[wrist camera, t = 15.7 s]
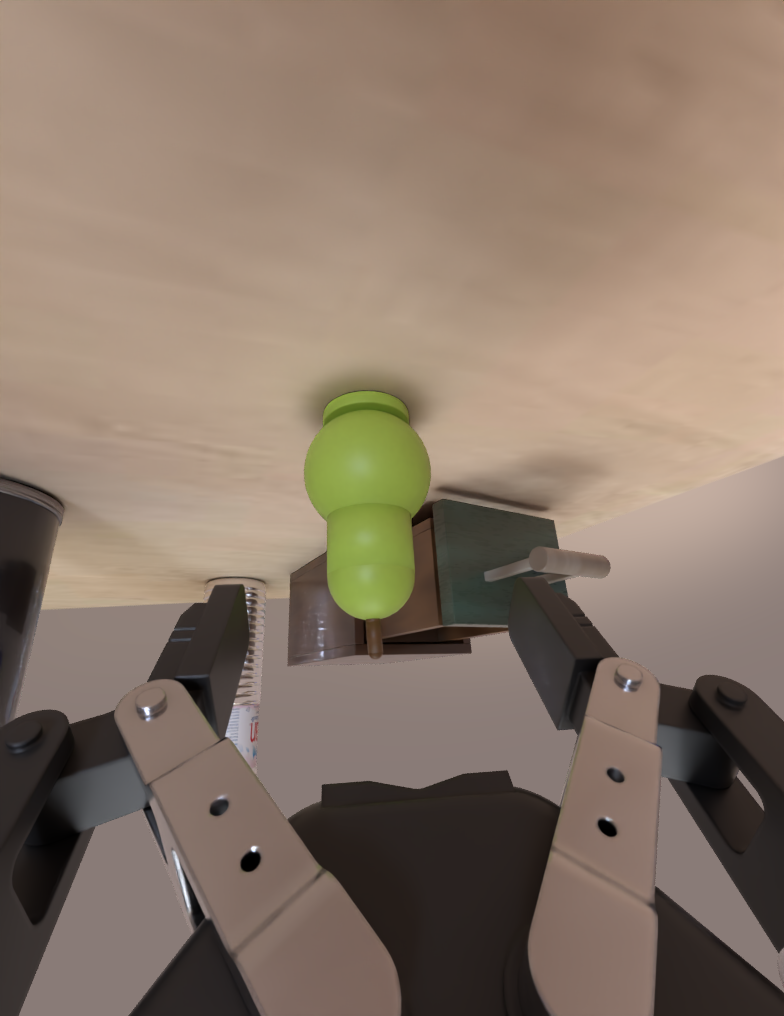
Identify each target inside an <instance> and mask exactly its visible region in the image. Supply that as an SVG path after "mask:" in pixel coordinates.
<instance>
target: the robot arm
mask: <svg viewBox="0 0 784 1016" xmlns="http://www.w3.org/2000/svg"><path fill="white" fill-rule="evenodd" d="M63 515H64V509H63V507H62V506H61V505H60V504H59V503H58V502H57V501H56V500H54V499H53V498H51V497H50V496H48V495H46V494H44V493H42V492H40V491H37V490H35V489H32V488H30V487H27V486H24V485H21V484H18V483H15V482H12V481H9V480H5V479H2V478H0V1016H19V1013H20V1011H21V1008H22V1006H23V1003H24V1001H25V998H26V996H27V993H28V991H29V988H30V986H31V984H32V981H33V979H34V976H35V974H36V971H37V969H38V966H39V964H40V961H41V959H42V957H43V954H44V952H45V949H46V947H47V944H48V942H49V939H50V936H51V934H52V932H53V929H54V927H55V925H56V922H57V920H58V917H59V915H60V912H61V910H62V907H63V905H64V902H65V900H66V897H67V895H68V893H69V890H70V888H71V885H72V883H73V880H74V878H75V875H76V873H77V870H78V868H79V866H80V863H81V861H82V858H83V856H84V853H85V851H86V848H87V846H88V843H89V841H90V839H91V836H92V834H93V831H94V829H95V826H98V825H101V824H103V823H106V822H108V821H111V820H114V819H117V818H119V817H122V816H124V815H127V814H130V813H133V812H135V811H138V810H141V811H142V813H143V816H144V818H145V821H146V823H147V825H148V827H149V830H150V832H151V834H152V837H153V839H154V841H155V844H156V846H157V848H158V851H159V853H160V855H161V858H162V860H163V862H164V865H165V867H166V869H167V872H168V874H169V876H170V879H171V881H172V884H173V887H174V889H175V893H176V896H177V898H178V901H179V904H180V907H181V909H182V912H183V914H184V917H185V920H186V922H187V924H188V927H189V929H190V931H191V933H192V935H191V936H190V938H189V939H188V940H187V941H186V943H185V944H184V945H183V947H182V948H181V949H180V950H179V952H178V953H177V954H176V956H175V957H174V958H173V959H172V961H171V962H170V963H169V964H168V966H167V967H166V968H165V970H164V971H163V972H162V973H161V975H160V976H159V977H158V979H157V980H156V981H155V982H154V984H153V985H152V986H151V988H150V989H149V990H148V992H147V993H146V994H145V995H144V996H143V998H142V999H141V1000H140V1002H139V1003H138V1005H136V1007H135V1008H134V1009H133V1011H132V1012H131V1013H130V1014H129V1016H784V993H783V992H782V991H781V990H780V989H779V988H778V987H777V986H775V985H774V984H773V983H772V982H771V981H769V980H768V979H767V978H766V977H764V976H763V975H762V974H761V973H760V972H759V971H757V970H756V969H755V968H754V967H753V966H751V965H750V964H749V963H748V962H746V961H745V960H744V959H743V958H742V957H740V956H739V955H738V954H737V953H736V952H734V951H733V950H732V949H731V948H730V947H728V946H727V945H726V944H725V943H724V942H722V941H721V940H720V939H719V938H717V937H716V936H715V935H714V934H713V933H712V932H710V931H709V930H708V929H707V928H706V927H704V926H703V925H702V924H701V923H700V922H698V921H697V920H696V919H695V918H693V917H692V916H691V915H690V914H689V913H688V912H686V911H685V910H684V909H683V908H682V907H680V906H679V905H678V904H677V903H676V902H674V901H673V900H672V899H671V898H669V897H668V896H667V895H666V894H664V892H662V891H661V890H660V889H659V888H657V887H656V886H655V877H656V859H657V842H658V825H659V824H658V823H659V807H660V790H661V777H666V778H668V779H669V781H670V783H671V784H672V786H673V787H674V789H675V791H676V792H677V794H678V795H679V797H680V798H681V800H682V802H683V803H684V805H685V806H686V808H687V809H688V811H689V813H690V814H691V816H692V817H693V819H694V820H695V822H696V824H697V825H698V827H699V828H700V830H701V832H702V833H703V835H704V836H705V838H706V840H707V841H708V843H709V844H710V846H711V847H712V849H713V850H714V852H715V854H716V855H717V857H718V858H719V860H720V862H721V863H722V865H723V866H724V868H725V869H726V871H727V873H728V874H729V876H730V877H731V879H732V880H733V882H734V884H735V885H736V887H737V888H738V890H739V892H740V893H741V895H742V896H743V898H744V899H745V901H746V902H747V904H748V906H749V907H750V909H751V910H752V912H753V914H754V915H755V917H756V918H757V920H758V921H759V923H760V925H761V926H762V928H763V929H764V931H765V933H766V934H767V936H768V937H769V939H770V940H771V942H772V944H773V945H774V947H775V948H776V950H777V951H778V953H779V956H778V971H779V975H780V978H781V981H782V984H783V987H784V722H783V720H782V719H781V718H779V716H778V715H776V714H775V712H773V710H772V709H771V708H769V706H768V705H767V704H766V703H765V702H764V701H763V700H762V699H761V698H759V696H757V695H756V694H755V693H754V692H753V691H751V690H750V689H749V688H747V687H745V686H744V685H742V684H740V683H738V682H736V681H734V680H731V679H728V678H726V677H722V676H717V675H704V676H701V677H699V678H698V679H697V681H696V683H695V686H694V688H693V690H690V689H686V688H680V687H675V686H670V685H664V684H660V683H659V682H658V680H657V678H656V677H655V676H654V675H653V674H652V673H651V672H650V671H649V670H648V669H646V668H645V667H643V666H642V665H640V664H638V663H636V662H633V661H631V660H628V659H625V658H619V656H618V655H617V654H616V653H615V651H614V650H613V649H612V648H611V646H610V645H609V644H608V643H607V641H606V640H605V639H604V638H603V636H602V635H601V634H600V633H599V631H598V630H597V629H596V628H595V626H593V625H592V623H591V621H590V620H589V619H588V618H587V617H585V614H584V613H583V611H582V610H581V609H580V607H579V606H578V605H577V604H576V603H575V602H574V601H573V600H571V599H570V598H568V597H567V596H565V595H564V594H562V593H555V591H554V590H553V589H552V587H551V586H550V585H549V583H548V582H547V581H546V580H545V578H543V577H518V578H517V579H516V580H515V583H514V588H513V594H512V600H511V605H510V611H509V617H508V631H509V636H510V638H511V641H512V643H513V645H514V647H515V649H516V651H517V653H518V654H519V657H520V658H521V660H522V662H523V664H524V666H525V668H526V670H527V672H528V674H529V676H530V678H531V680H532V682H533V684H534V686H535V687H536V689H537V691H538V693H539V695H540V697H541V699H542V701H543V703H544V705H545V707H546V709H547V711H548V713H549V715H550V717H551V719H552V720H553V722H554V724H555V726H556V728H557V730H568V729H575V731H576V733H577V735H578V736H577V740H576V743H575V747H574V751H573V755H572V759H571V762H570V766H569V770H568V773H567V777H566V781H565V785H564V788H563V792H562V796H561V800H560V804H559V806H557V805H556V804H555V803H553V802H551V801H550V800H548V799H546V798H544V797H542V796H541V795H538V794H536V793H533V792H531V791H528V790H525V789H522V788H518V787H513V784H512V782H511V779H510V776H509V773H508V771H507V770H506V771H493V772H482V773H481V772H480V773H467V774H462V775H459V776H456V777H453V778H451V779H448V780H445V781H442V782H439V783H437V784H434V785H431V786H428V787H425V788H422V789H412V788H406V787H400V786H395V785H389V784H383V783H378V782H372V781H363V782H350V783H337V784H326V785H325V784H324V785H322V801H320V802H318V803H315V804H312V805H310V806H308V807H306V808H304V809H302V810H300V811H299V812H297V813H296V814H294V815H293V816H291V817H290V818H288V819H286V817H285V816H284V814H283V813H282V812H281V810H280V809H279V807H278V806H277V804H276V803H275V802H274V800H273V799H272V797H271V796H270V794H269V793H268V792H267V790H266V789H265V787H264V786H263V784H262V783H261V782H260V780H259V779H258V777H257V776H256V774H255V773H254V771H253V770H252V769H251V767H250V766H249V764H248V763H247V761H246V760H245V759H244V757H243V756H242V754H241V753H240V751H239V750H238V749H237V747H236V746H235V744H234V743H233V742H232V741H231V739H229V738H228V737H225V735H226V731H227V727H228V724H229V720H230V716H231V712H232V708H233V705H234V701H235V697H236V693H237V689H238V686H239V682H240V678H241V674H242V670H243V667H244V663H245V659H246V655H247V651H248V646H249V622H248V613H247V604H246V595H245V588H244V585H243V584H223V585H215V586H214V588H213V590H212V592H211V595H210V597H209V599H208V601H207V603H195V604H193V605H192V606H191V607H190V608H189V609H188V610H186V611H185V612H184V613H183V614H182V615H181V616H180V618H179V620H178V622H177V624H176V626H175V628H174V631H173V632H172V634H171V636H170V638H169V642H168V643H167V644H166V646H165V648H164V650H163V652H162V653H161V655H160V657H159V659H158V661H157V664H156V665H155V667H154V669H153V671H152V673H151V675H150V677H149V679H148V681H147V683H144V684H142V685H140V686H138V687H136V688H134V689H133V690H131V691H130V692H128V693H127V694H126V695H125V696H124V697H123V698H122V699H121V700H120V702H119V703H118V705H117V707H116V709H115V710H114V711H111V712H109V713H106V714H103V715H100V716H96V717H93V718H90V719H86V720H82V721H79V722H76V723H72V724H69V722H68V719H67V717H66V715H64V713H62V712H60V711H57V710H42V711H36V712H32V713H29V714H26V715H23V716H21V717H18V718H16V716H17V712H18V707H19V703H20V698H21V694H22V689H23V685H24V681H25V676H26V672H27V667H28V663H29V658H30V654H31V650H32V645H33V640H34V636H35V632H36V627H37V623H38V618H39V614H40V610H41V605H42V601H43V596H44V592H45V587H46V583H47V578H48V574H49V569H50V564H51V559H52V555H53V550H54V546H55V541H56V537H57V532H58V528H59V526H60V525H61V523H62V519H63ZM739 770H740V771H741V772H742V773H743V774H744V776H745V777H746V778H747V779H748V781H749V782H750V783H751V785H752V786H753V787H754V788H755V789H756V791H757V792H758V794H759V796H760V798H761V799H762V802H763V806H764V811H765V812H764V811H763V810H762V808H761V807H760V806H759V804H758V803H757V802H756V801H755V799H754V798H753V797H752V796H751V794H750V793H749V792H748V791H747V789H746V788H745V787H744V785H743V784H742V783H741V782H740V780H739V779H738V778H737V774H738V772H739Z"/></svg>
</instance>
